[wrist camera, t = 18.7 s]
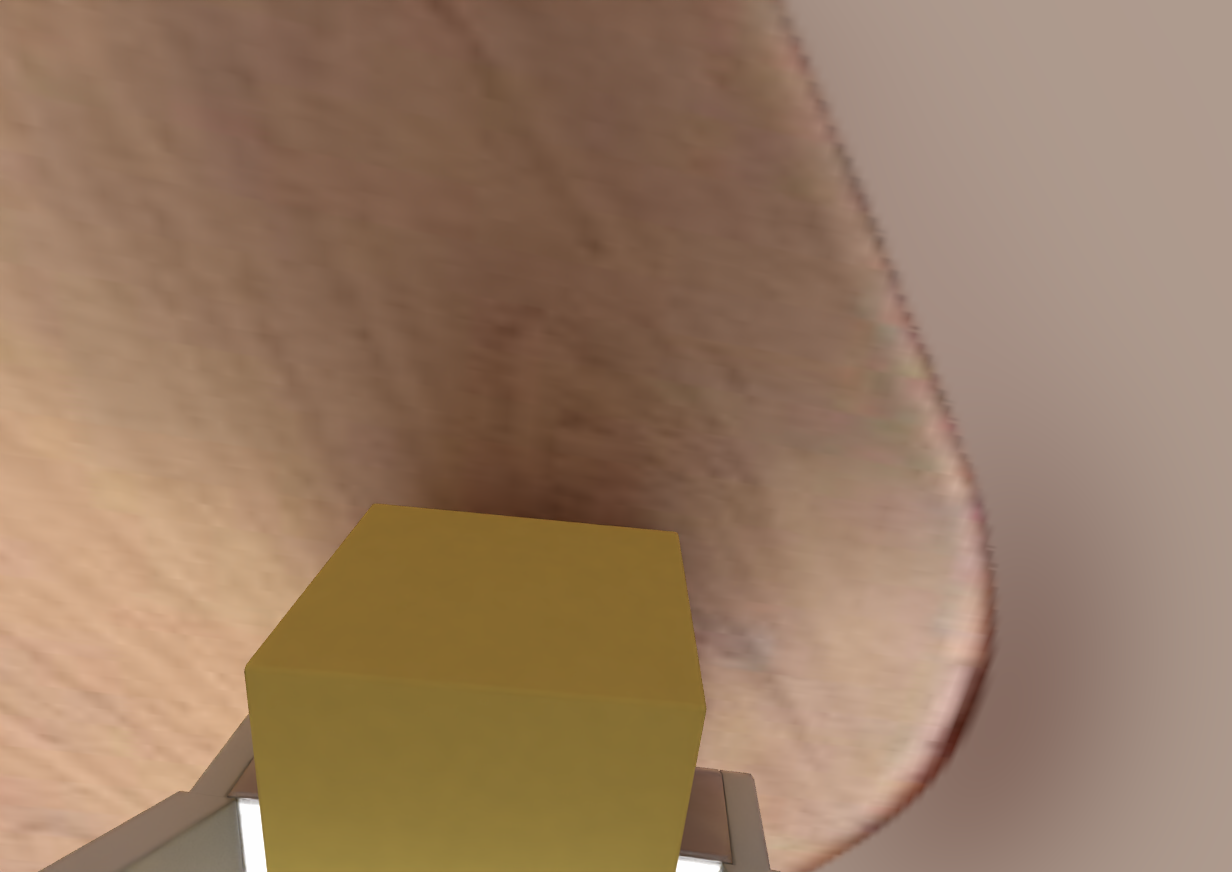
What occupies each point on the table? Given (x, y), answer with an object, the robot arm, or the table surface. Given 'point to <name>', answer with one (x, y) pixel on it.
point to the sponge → (480, 700)
